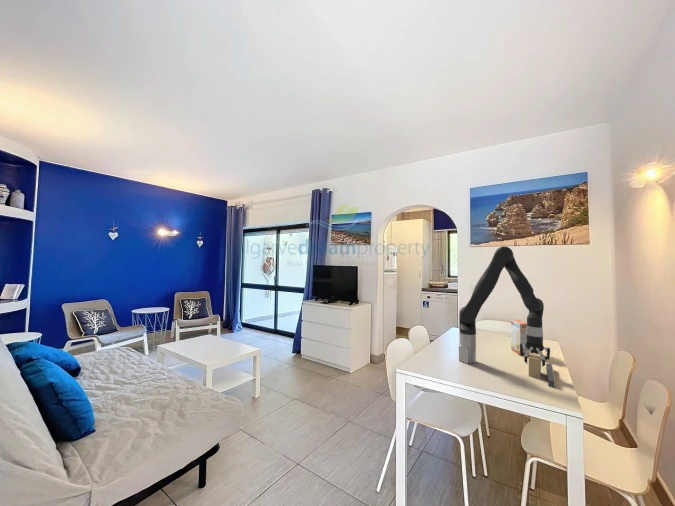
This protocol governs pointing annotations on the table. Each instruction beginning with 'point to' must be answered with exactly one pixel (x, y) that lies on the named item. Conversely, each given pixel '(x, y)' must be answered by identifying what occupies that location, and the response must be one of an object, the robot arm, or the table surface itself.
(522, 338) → the cracker box
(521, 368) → the table surface
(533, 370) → the carton
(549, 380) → the rail
